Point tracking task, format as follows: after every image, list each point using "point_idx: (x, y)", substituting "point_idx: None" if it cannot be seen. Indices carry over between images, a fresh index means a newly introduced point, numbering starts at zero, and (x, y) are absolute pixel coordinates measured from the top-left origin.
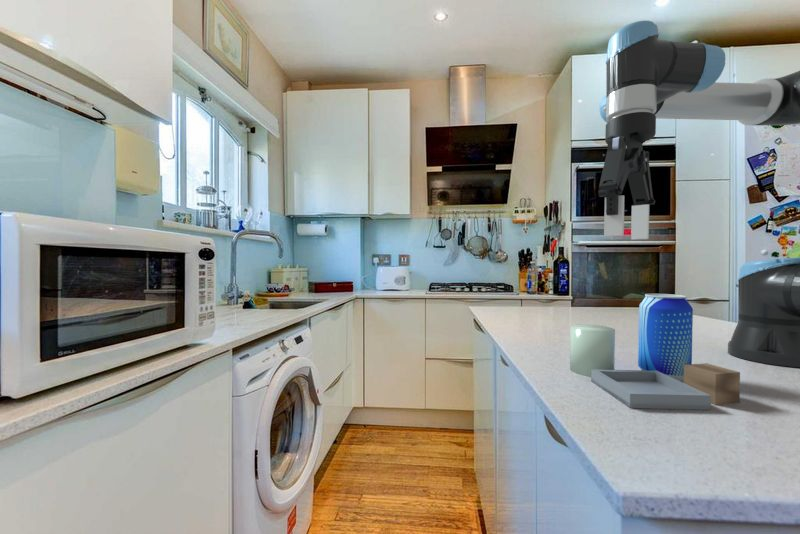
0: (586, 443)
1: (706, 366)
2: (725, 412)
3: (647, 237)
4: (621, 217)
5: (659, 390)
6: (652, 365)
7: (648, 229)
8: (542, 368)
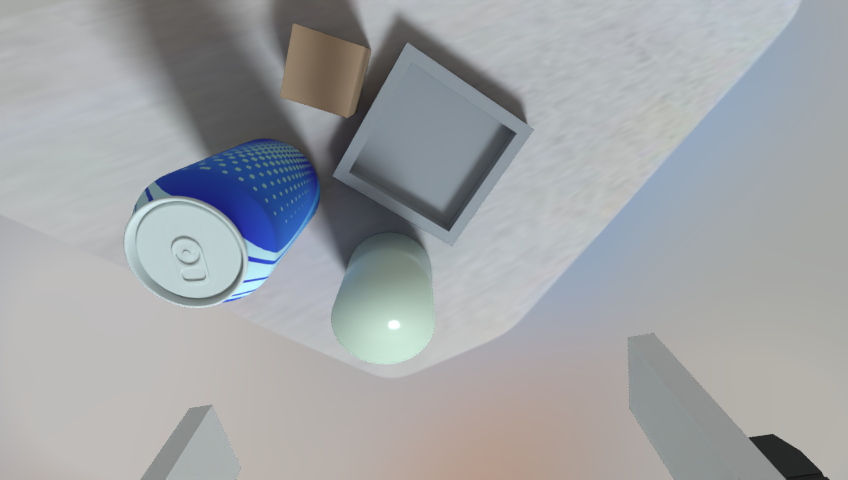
0: (719, 88)
1: (312, 85)
2: (396, 23)
3: (210, 409)
4: (716, 407)
5: (404, 135)
6: (316, 193)
7: (167, 453)
8: (462, 326)
